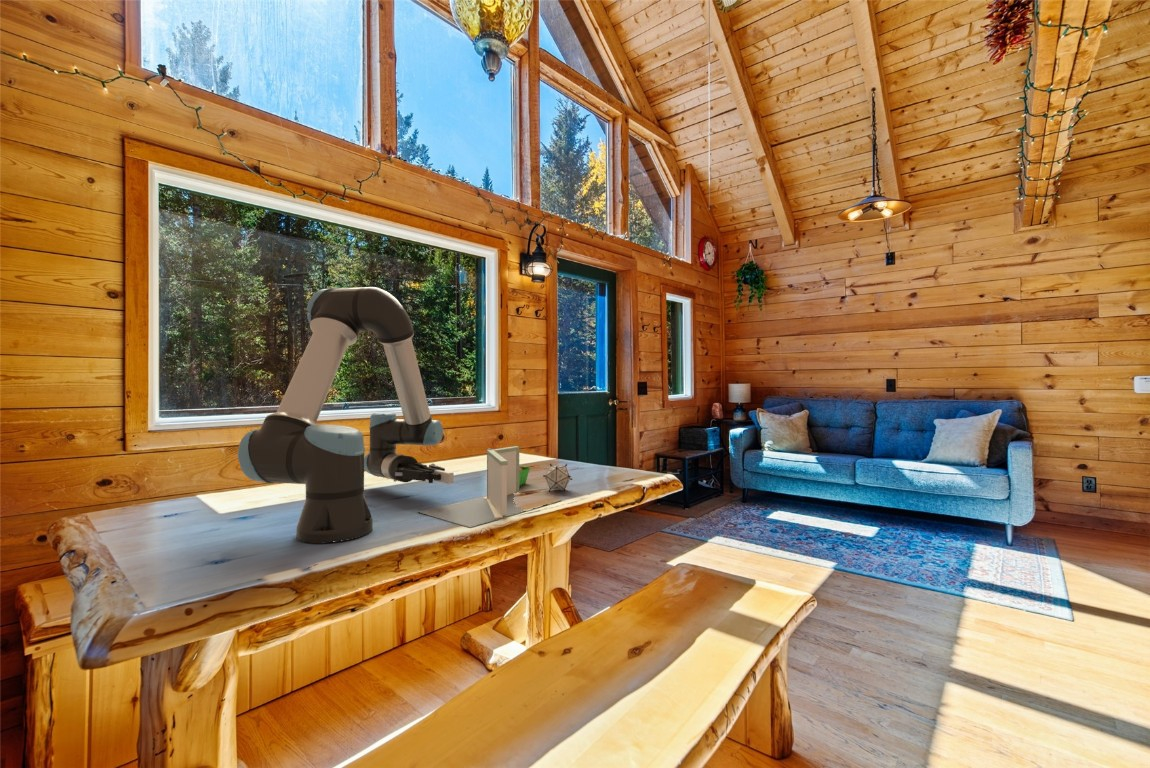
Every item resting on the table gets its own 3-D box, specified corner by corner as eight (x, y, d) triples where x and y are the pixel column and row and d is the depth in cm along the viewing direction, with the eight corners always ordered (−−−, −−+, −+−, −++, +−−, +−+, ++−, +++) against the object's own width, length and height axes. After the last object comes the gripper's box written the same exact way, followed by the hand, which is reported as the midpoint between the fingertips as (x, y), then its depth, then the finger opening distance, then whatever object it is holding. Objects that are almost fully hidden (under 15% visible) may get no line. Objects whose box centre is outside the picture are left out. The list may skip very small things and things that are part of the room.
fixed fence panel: (495, 498, 144) (495, 450, 144) (491, 497, 145) (491, 449, 145) (519, 492, 151) (519, 446, 151) (515, 491, 152) (515, 446, 152)
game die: (562, 501, 155) (580, 474, 158) (559, 498, 147) (578, 469, 150) (538, 485, 158) (556, 458, 160) (533, 481, 150) (553, 452, 152)
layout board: (470, 528, 116) (470, 526, 116) (418, 512, 129) (418, 511, 129) (561, 501, 141) (561, 499, 141) (510, 490, 154) (510, 489, 154)
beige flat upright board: (507, 516, 125) (507, 460, 124) (500, 517, 124) (501, 460, 124) (491, 497, 144) (492, 448, 144) (486, 497, 144) (486, 448, 143)
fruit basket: (515, 490, 154) (515, 453, 154) (489, 488, 157) (489, 451, 157) (531, 483, 165) (531, 448, 165) (506, 481, 168) (506, 446, 167)
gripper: (419, 477, 155) (470, 488, 140) (380, 484, 145) (430, 496, 130) (420, 452, 155) (470, 460, 140) (380, 457, 144) (430, 467, 130)
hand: (451, 478), depth 135 cm, fingers closed
